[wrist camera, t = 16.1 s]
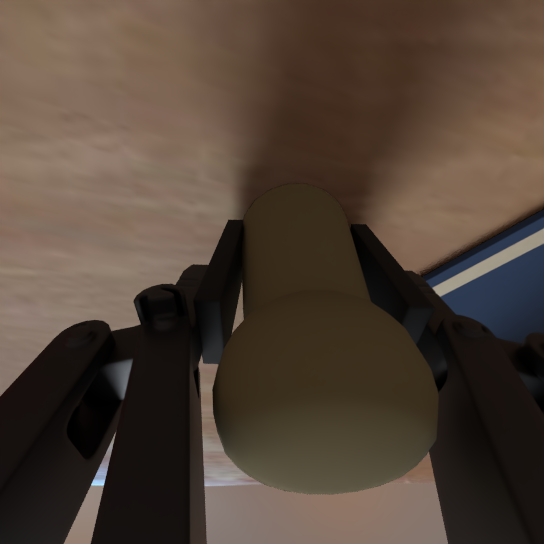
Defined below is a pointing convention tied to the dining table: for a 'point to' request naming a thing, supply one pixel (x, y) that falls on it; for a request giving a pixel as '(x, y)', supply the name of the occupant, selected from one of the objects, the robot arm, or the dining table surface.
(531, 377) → the robot arm
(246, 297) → the olive game pawn
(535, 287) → the towel
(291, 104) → the dining table surface
